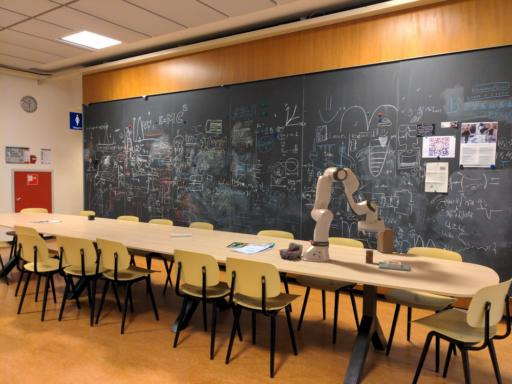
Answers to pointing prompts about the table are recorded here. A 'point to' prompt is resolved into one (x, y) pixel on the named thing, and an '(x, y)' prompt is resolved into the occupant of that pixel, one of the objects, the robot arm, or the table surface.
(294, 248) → the cell model
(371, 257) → the pillar
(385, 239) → the block
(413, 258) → the table surface
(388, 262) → the board
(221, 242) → the table surface
